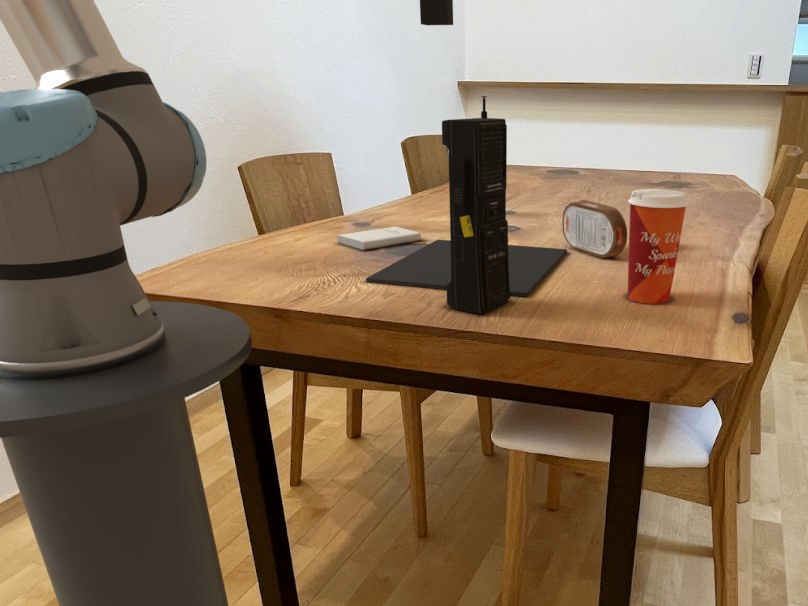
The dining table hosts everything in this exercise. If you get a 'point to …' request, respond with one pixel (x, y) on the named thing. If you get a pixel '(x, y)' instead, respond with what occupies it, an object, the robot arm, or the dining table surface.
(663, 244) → the paper cup
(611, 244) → the tin
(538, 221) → the dining table surface
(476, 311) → the portable radio
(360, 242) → the hard drive
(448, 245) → the mat
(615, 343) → the dining table surface
